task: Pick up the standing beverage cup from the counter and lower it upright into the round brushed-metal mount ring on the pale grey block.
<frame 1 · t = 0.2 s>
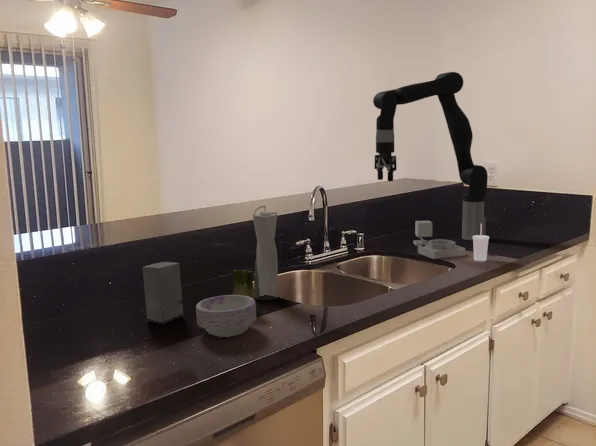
hand: (385, 180, 228), 29 cm above the worktop, tool pointing down, fingers open, 8 cm apart
security camera: (422, 244, 240), on the worktop
fennel bulb: (243, 310, 158), on the worktop
mount block: (441, 254, 220), on the worktop
paper bowls: (227, 332, 142), on the worktop
skyscraper: (267, 296, 171), on the worktop
beverage cup: (480, 260, 209), on the worktop
skincare box: (165, 320, 152), on the worktop
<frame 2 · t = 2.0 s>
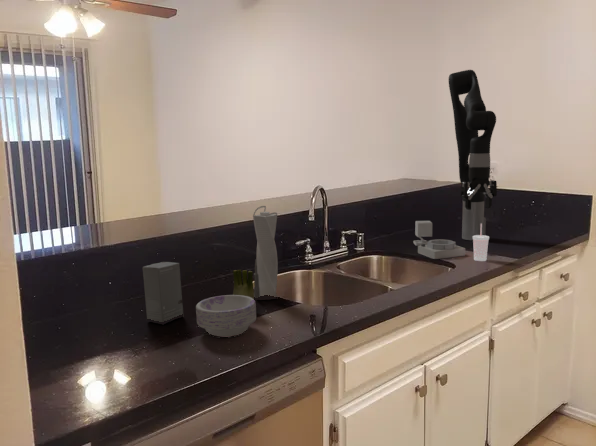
hand: (478, 208, 207), 20 cm above the worktop, tool pointing down, fingers open, 8 cm apart
nothing on the worktop moved.
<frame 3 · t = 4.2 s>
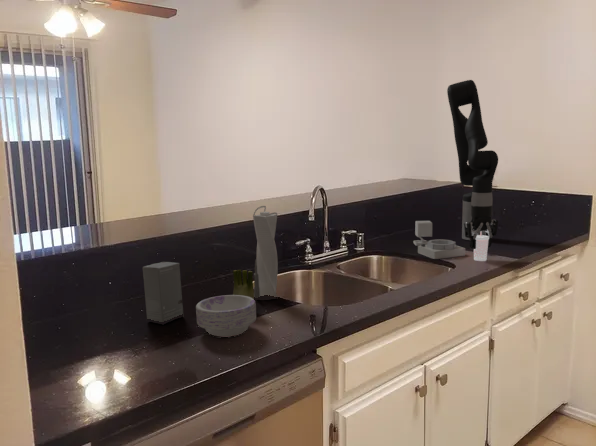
hand: (480, 247, 209), 5 cm above the worktop, tool pointing down, fingers closed on beverage cup, 6 cm apart
beverage cup: (480, 260, 209), on the worktop, touching gripper
everything else where it was.
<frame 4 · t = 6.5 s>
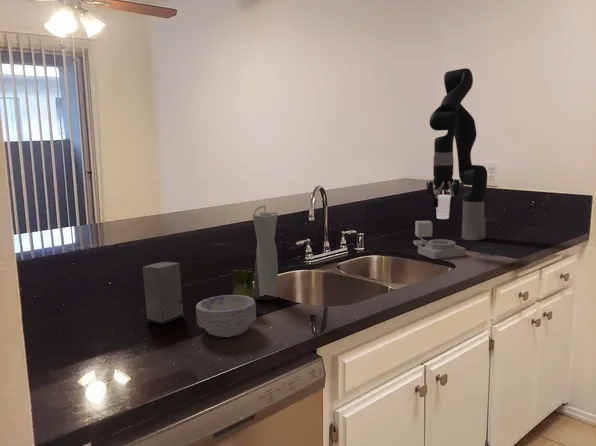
hand: (442, 206, 217), 19 cm above the worktop, tool pointing down, fingers closed on beverage cup, 6 cm apart
beverage cup: (442, 218, 217), point 15 cm above the worktop, touching gripper
everything else where it was.
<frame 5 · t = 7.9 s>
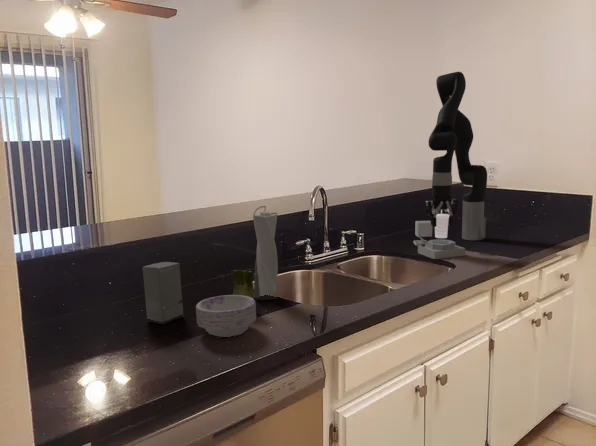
hand: (441, 225, 218), 12 cm above the worktop, tool pointing down, fingers closed on beverage cup, 6 cm apart
beverage cup: (441, 237, 219), point 7 cm above the worktop, touching gripper
everything else where it was.
when the fingers open (9 cm above the worktop, at t = 9.0 s): beverage cup drops 1 cm, resting on mount block.
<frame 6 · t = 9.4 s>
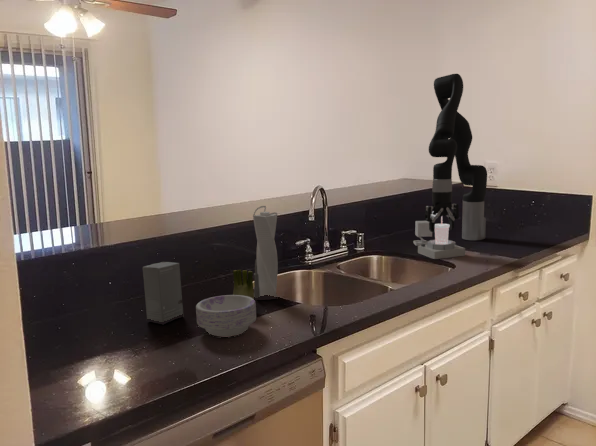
hand: (441, 230, 218), 10 cm above the worktop, tool pointing down, fingers open, 8 cm apart
beverage cup: (441, 247, 220), point 3 cm above the worktop, touching mount block
everything else where it was.
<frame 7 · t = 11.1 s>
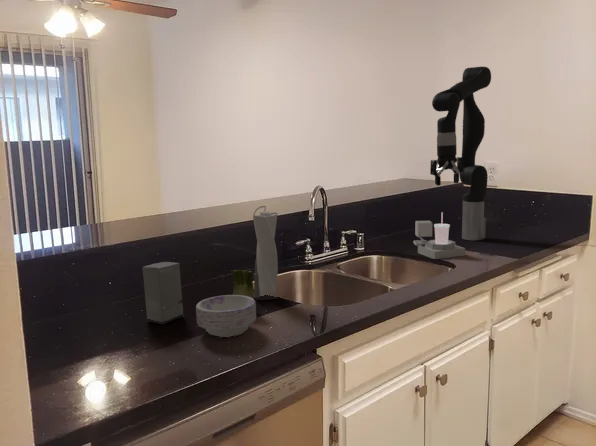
hand: (447, 184, 223), 27 cm above the worktop, tool pointing down, fingers open, 8 cm apart
nothing on the worktop moved.
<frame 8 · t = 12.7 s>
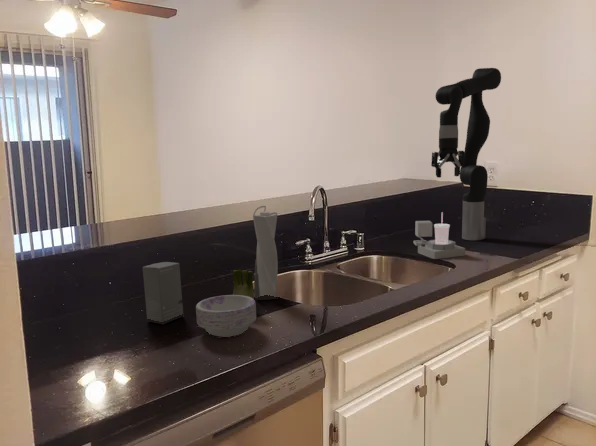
hand: (447, 176, 225), 30 cm above the worktop, tool pointing down, fingers open, 8 cm apart
nothing on the worktop moved.
at the end: beverage cup 0.2 cm off-centre on the mount block, point 2.8 cm above the mount block's base; beverage cup tilted 0°; the gripper is holding nothing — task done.
